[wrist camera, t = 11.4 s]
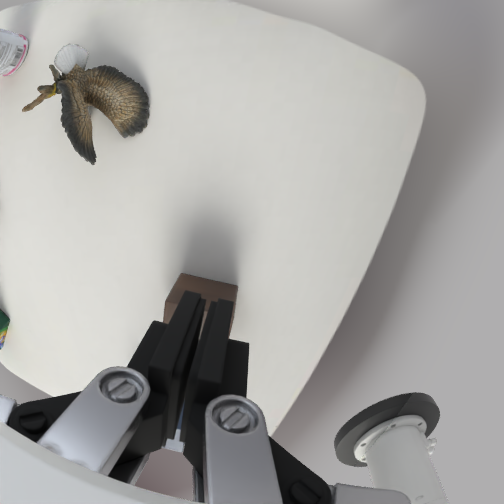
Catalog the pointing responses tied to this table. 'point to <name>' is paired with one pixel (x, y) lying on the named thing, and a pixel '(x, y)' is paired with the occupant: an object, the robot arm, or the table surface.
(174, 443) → the slate-blue block
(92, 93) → the eagle figurine
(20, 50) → the pill bottle
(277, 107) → the table surface
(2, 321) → the crayon box
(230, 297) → the walnut block
